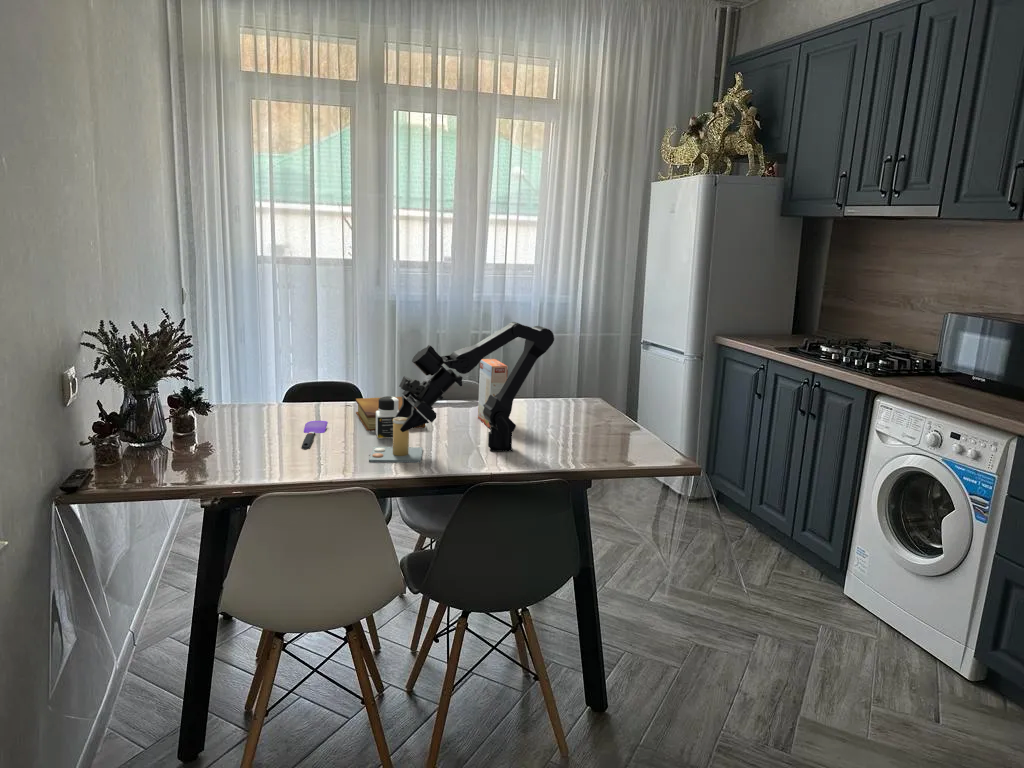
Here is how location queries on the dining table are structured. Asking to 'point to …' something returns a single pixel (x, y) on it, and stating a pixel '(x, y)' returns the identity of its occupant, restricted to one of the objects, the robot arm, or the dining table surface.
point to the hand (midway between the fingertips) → (397, 426)
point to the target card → (387, 455)
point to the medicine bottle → (386, 416)
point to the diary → (372, 412)
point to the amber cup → (400, 437)
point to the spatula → (313, 431)
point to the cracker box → (490, 383)
